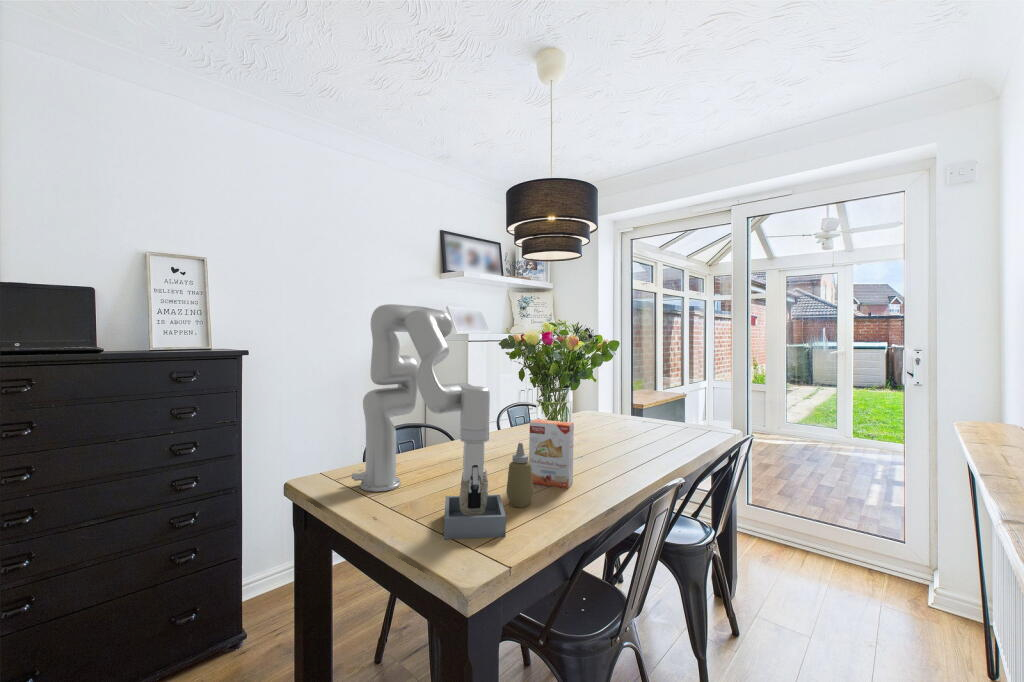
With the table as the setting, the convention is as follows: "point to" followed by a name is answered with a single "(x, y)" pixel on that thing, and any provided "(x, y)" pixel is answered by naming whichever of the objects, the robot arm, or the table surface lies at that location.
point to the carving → (464, 496)
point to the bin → (474, 520)
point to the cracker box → (551, 452)
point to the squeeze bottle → (520, 479)
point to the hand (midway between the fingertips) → (473, 501)
